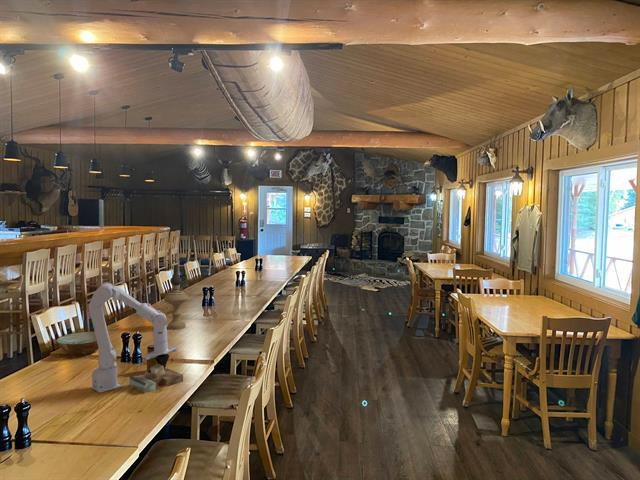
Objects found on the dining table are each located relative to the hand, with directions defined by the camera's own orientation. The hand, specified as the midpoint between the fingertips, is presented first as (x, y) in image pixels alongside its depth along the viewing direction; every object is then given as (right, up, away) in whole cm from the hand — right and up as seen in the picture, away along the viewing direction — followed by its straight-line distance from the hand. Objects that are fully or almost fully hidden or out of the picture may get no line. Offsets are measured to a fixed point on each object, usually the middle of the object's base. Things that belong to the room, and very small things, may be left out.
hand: (162, 371), depth 210 cm
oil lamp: (-23, +1, +97) cm, 99 cm away
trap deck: (-2, -5, -2) cm, 6 cm away
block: (-1, -1, -1) cm, 2 cm away
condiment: (-8, -4, +14) cm, 17 cm away
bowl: (-56, -2, +44) cm, 71 cm away
